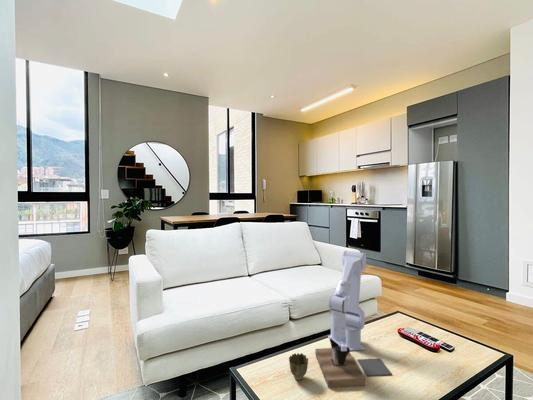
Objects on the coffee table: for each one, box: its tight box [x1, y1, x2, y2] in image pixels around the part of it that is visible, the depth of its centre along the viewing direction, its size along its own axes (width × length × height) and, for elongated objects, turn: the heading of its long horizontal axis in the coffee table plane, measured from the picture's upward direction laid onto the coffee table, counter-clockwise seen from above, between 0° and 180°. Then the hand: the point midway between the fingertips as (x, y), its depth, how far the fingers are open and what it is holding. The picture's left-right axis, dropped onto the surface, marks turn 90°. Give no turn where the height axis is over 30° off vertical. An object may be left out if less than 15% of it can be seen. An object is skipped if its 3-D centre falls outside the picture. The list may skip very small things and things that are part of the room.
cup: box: [288, 352, 309, 381], centre depth 110 cm, size 8×7×8 cm
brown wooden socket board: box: [314, 347, 366, 389], centre depth 115 cm, size 20×14×3 cm
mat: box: [357, 358, 393, 377], centre depth 116 cm, size 10×10×1 cm
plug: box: [331, 347, 345, 366], centre depth 115 cm, size 4×4×8 cm
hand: (338, 358), depth 115 cm, fingers open, 7 cm apart
